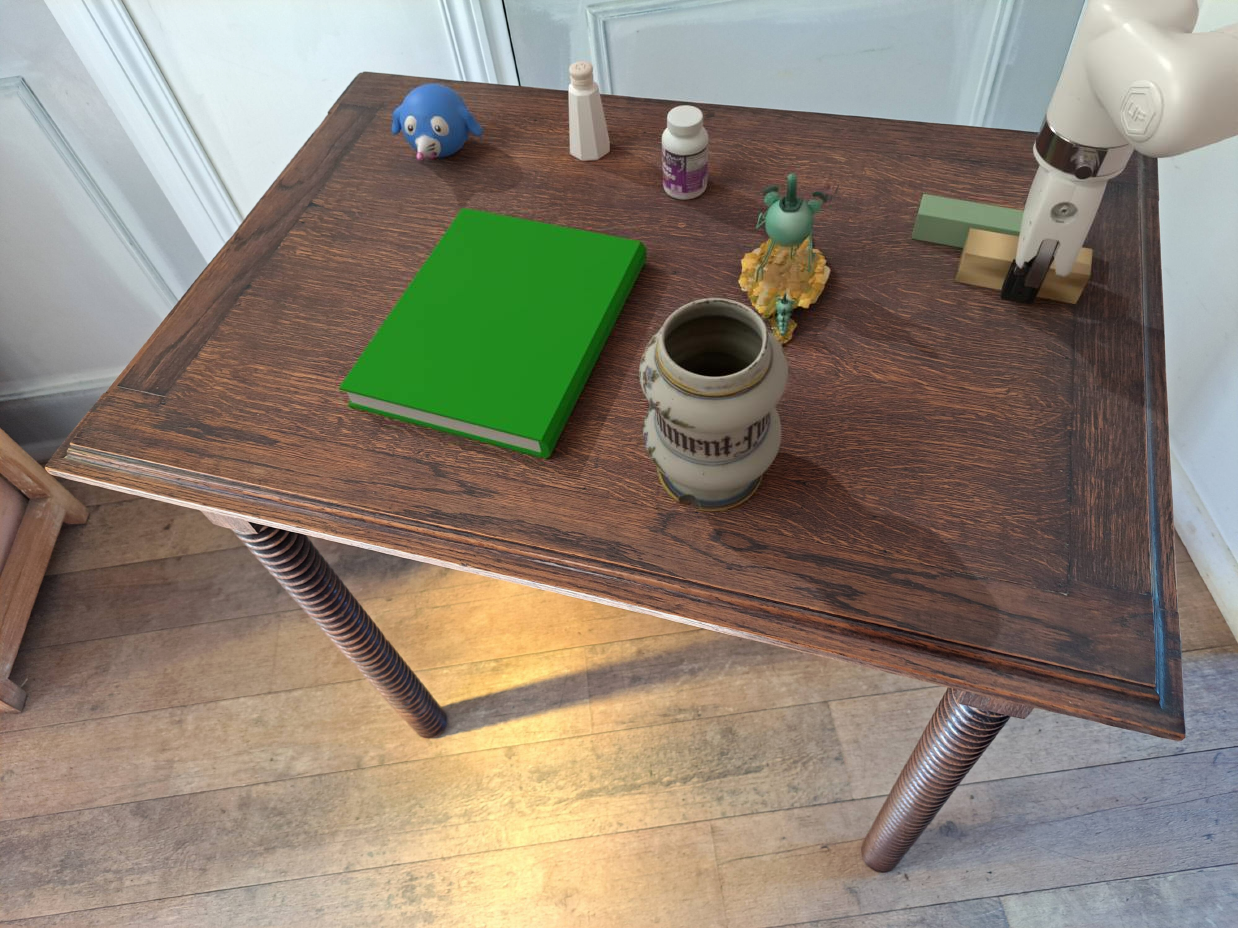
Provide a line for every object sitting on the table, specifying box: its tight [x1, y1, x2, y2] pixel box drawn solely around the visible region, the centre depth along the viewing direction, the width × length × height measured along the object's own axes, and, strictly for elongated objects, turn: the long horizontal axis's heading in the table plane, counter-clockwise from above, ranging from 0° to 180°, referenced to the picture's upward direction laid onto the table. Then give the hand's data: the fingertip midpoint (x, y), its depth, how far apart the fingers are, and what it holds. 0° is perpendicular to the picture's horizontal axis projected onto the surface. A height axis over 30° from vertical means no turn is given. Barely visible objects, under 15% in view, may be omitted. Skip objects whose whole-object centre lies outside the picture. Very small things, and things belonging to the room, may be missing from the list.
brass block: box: [955, 228, 1094, 305], centre depth 89 cm, size 12×4×4 cm, turn 70°
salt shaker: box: [568, 60, 611, 162], centre depth 104 cm, size 5×5×11 cm
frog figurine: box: [738, 173, 831, 346], centre depth 87 cm, size 10×18×15 cm, turn 159°
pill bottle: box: [661, 104, 709, 201], centre depth 99 cm, size 5×5×10 cm
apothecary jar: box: [638, 297, 789, 512], centre depth 72 cm, size 12×12×18 cm
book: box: [338, 207, 647, 460], centre depth 90 cm, size 22×28×3 cm
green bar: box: [910, 193, 1024, 249], centre depth 92 cm, size 16×4×4 cm, turn 69°
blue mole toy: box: [390, 83, 484, 162], centre depth 106 cm, size 12×12×8 cm
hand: (1016, 296), depth 87 cm, fingers closed
